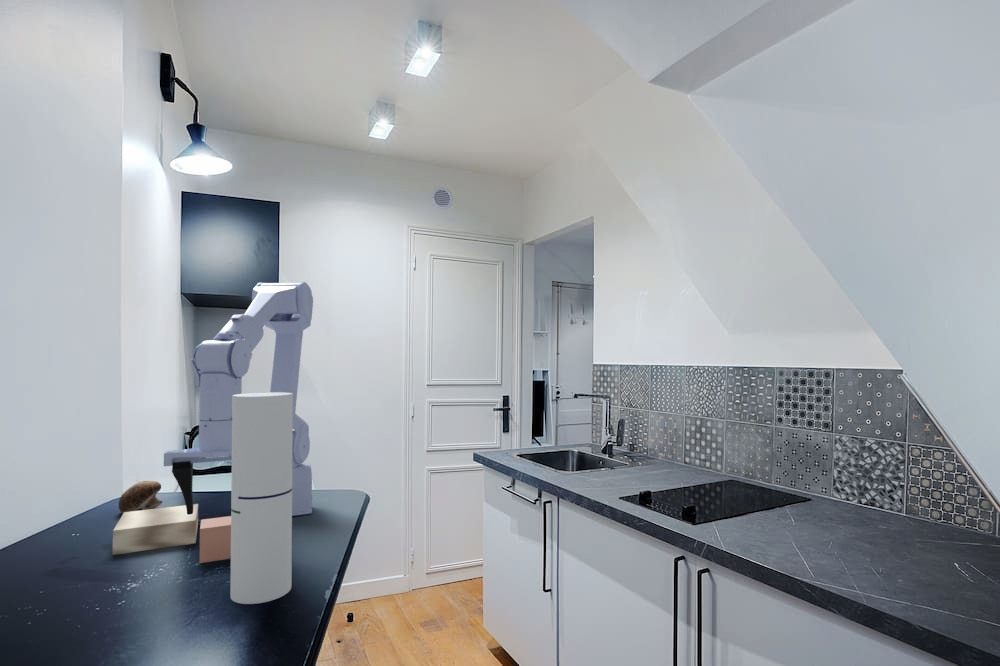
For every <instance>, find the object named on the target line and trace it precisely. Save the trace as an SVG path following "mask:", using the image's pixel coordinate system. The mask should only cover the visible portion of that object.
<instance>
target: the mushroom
mask: <svg viewBox="0 0 1000 666" xmlns="http://www.w3.org/2000/svg"><path fill="white" fill-rule="evenodd" d="M161 489H162V484H161V483H160V482H158V481H155V480H142V481H138V482H137V483H135V484H133V485H132V486H130V487H129V488H128V489H126V490H125V491H124V492H123V493H122V494H121V496H120V498H119V499H118V509H119V511H120V513H121V514H123V513H124V512H131V511H138V510H148V509H157V508H158V507H159V506H161V505H162V504H163V501H162V500H160V499H158V498H157V497H156V496H157V494H158V492H160V491H161Z"/></svg>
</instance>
